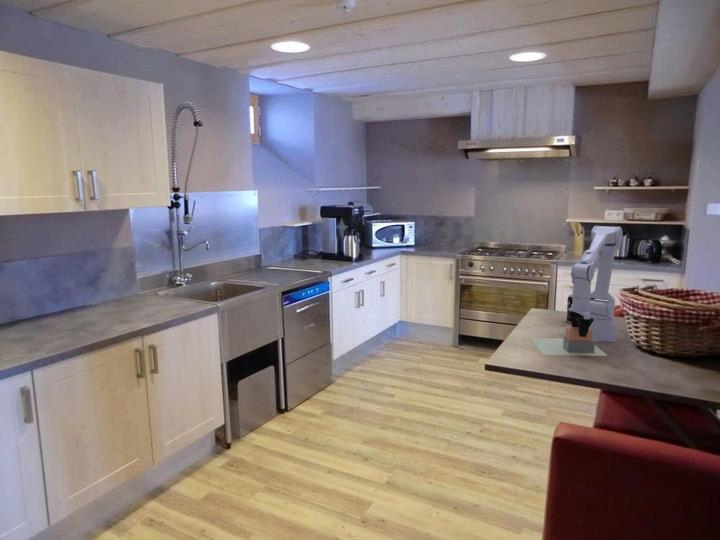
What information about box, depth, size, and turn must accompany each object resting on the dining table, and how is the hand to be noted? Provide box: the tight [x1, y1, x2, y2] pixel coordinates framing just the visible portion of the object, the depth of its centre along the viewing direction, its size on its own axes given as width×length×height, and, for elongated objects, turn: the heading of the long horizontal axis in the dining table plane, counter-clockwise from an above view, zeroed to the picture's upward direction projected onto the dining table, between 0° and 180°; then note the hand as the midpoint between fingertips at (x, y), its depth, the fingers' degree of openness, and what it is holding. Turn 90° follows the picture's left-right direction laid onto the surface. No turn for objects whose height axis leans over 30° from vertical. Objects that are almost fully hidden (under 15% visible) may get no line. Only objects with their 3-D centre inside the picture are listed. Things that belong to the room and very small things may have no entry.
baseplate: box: [529, 337, 608, 357], centre depth 189 cm, size 22×20×1 cm
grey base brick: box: [563, 336, 596, 353], centre depth 184 cm, size 9×6×4 cm, turn 85°
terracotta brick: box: [564, 326, 593, 341], centre depth 184 cm, size 8×4×4 cm, turn 85°
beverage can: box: [566, 294, 573, 325], centre depth 221 cm, size 7×7×12 cm
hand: (579, 333), depth 183 cm, fingers open, 7 cm apart
